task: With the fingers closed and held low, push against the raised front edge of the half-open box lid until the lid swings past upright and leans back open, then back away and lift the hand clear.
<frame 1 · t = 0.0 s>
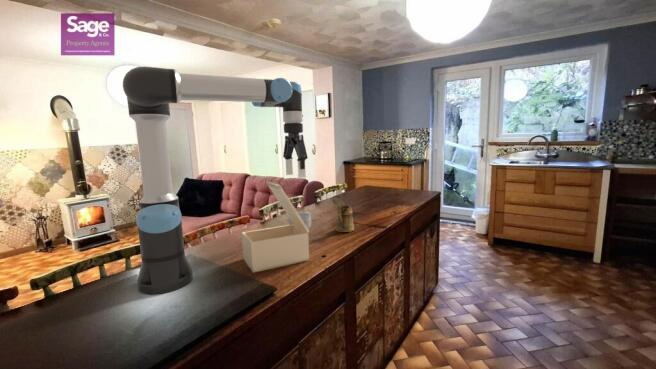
hand: (295, 176, 125), 28 cm above the kitchen island, tool pointing down, fingers open, 13 cm apart
teacup: (302, 230, 148), on the kitchen island
carton: (275, 259, 111), on the kitchen island
wooden mug: (343, 231, 143), on the kitchen island
lid: (287, 206, 111), point 19 cm above the kitchen island, hinge at 60.0°
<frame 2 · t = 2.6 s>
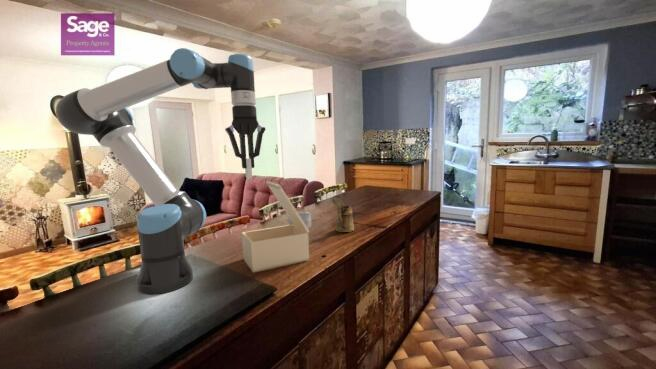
hand: (249, 178, 103), 30 cm above the kitchen island, tool pointing down, fingers closed
nothing on the kitchen island moved.
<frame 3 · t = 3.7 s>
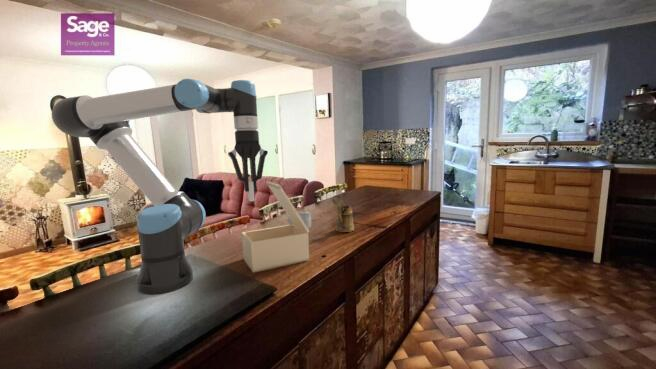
hand: (251, 200, 104), 22 cm above the kitchen island, tool pointing down, fingers closed
nothing on the kitchen island moved.
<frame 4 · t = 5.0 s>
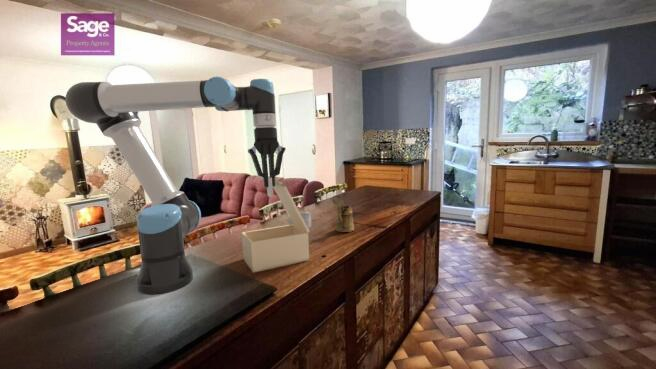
hand: (270, 196, 107), 23 cm above the kitchen island, tool pointing down, fingers closed
lid: (289, 205, 111), point 19 cm above the kitchen island, hinge at 64.2°, touching gripper
everything else where it was.
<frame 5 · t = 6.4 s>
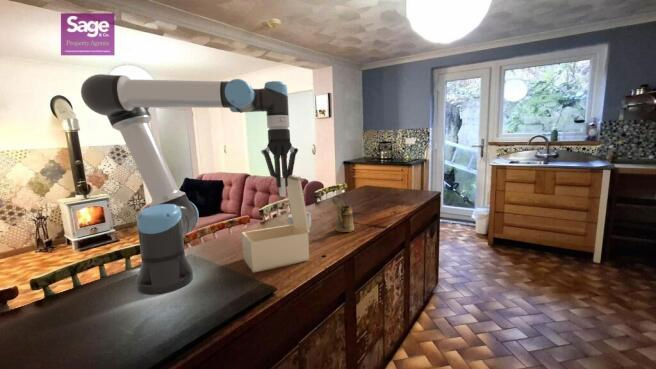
hand: (282, 196, 109), 23 cm above the kitchen island, tool pointing down, fingers closed
lid: (296, 202, 112), point 20 cm above the kitchen island, hinge at 81.5°, touching gripper
everything else where it was.
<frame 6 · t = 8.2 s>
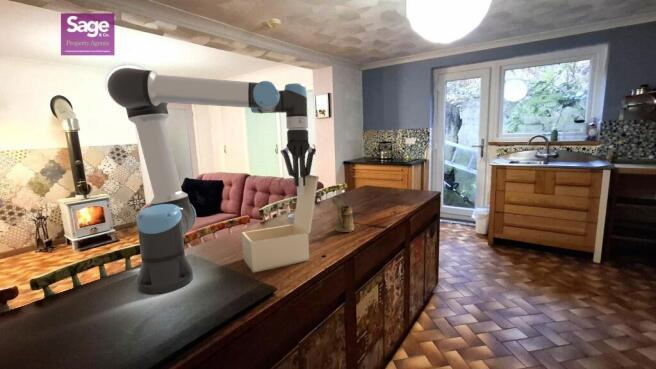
hand: (300, 195, 113), 22 cm above the kitchen island, tool pointing down, fingers closed
lid: (305, 201, 114), point 20 cm above the kitchen island, hinge at 101.3°, touching gripper
everything else where it was.
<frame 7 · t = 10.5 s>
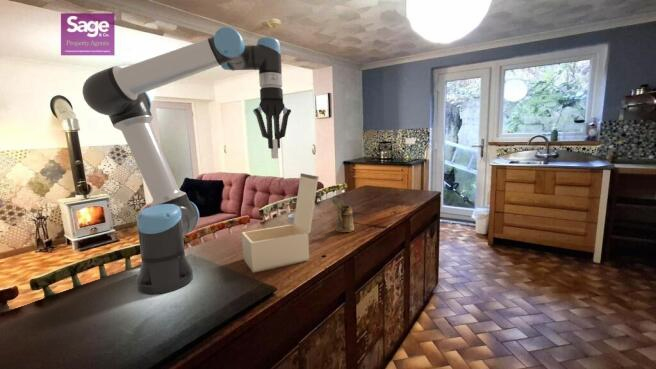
hand: (274, 158, 107), 36 cm above the kitchen island, tool pointing down, fingers closed
lid: (305, 201, 114), point 20 cm above the kitchen island, hinge at 101.3°
everything else where it was.
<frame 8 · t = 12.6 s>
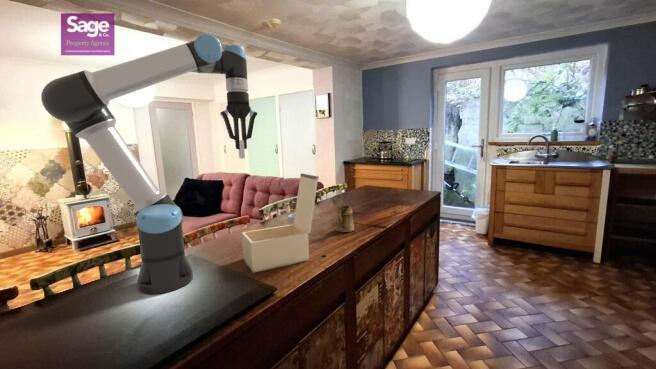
hand: (242, 158, 113), 36 cm above the kitchen island, tool pointing down, fingers closed
nothing on the kitchen island moved.
at the end: lid at +101° (first picture: +60°); the gripper is holding nothing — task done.
